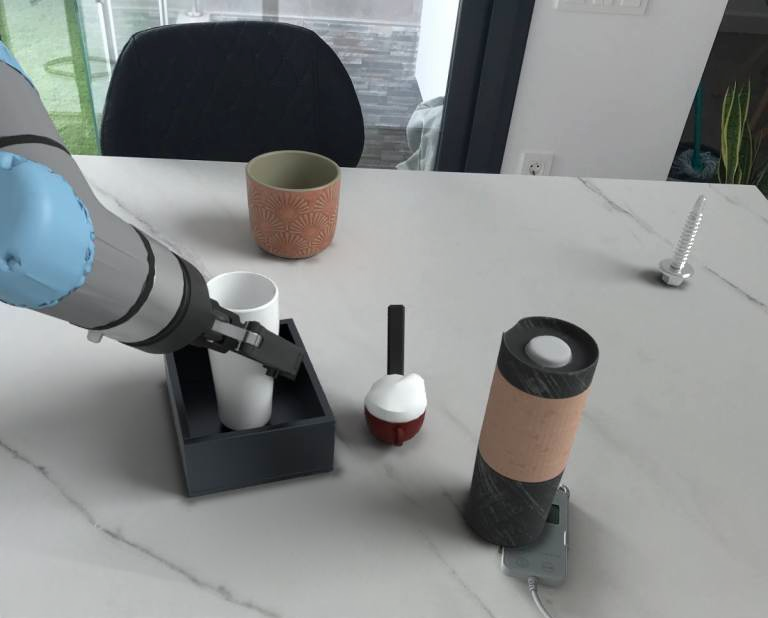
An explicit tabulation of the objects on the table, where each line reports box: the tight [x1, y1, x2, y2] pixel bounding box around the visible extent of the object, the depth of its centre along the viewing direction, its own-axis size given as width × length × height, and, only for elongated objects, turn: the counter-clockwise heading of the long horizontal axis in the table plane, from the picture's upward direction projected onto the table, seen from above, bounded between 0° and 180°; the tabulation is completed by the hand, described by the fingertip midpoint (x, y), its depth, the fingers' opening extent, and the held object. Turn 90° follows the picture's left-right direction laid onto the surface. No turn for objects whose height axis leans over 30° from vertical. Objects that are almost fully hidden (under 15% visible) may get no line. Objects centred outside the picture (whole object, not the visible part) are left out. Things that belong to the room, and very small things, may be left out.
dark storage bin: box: [162, 317, 337, 498], centre depth 76 cm, size 17×14×7 cm
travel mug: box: [466, 315, 600, 548], centre depth 65 cm, size 8×8×20 cm
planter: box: [244, 149, 342, 259], centre depth 104 cm, size 12×12×11 cm
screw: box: [657, 194, 707, 287], centre depth 104 cm, size 13×5×5 cm
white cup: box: [206, 270, 280, 431], centre depth 73 cm, size 7×7×15 cm
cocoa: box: [363, 304, 428, 447], centre depth 76 cm, size 10×6×12 cm, turn 163°
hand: (262, 355), depth 77 cm, fingers closed on white cup, 7 cm apart
